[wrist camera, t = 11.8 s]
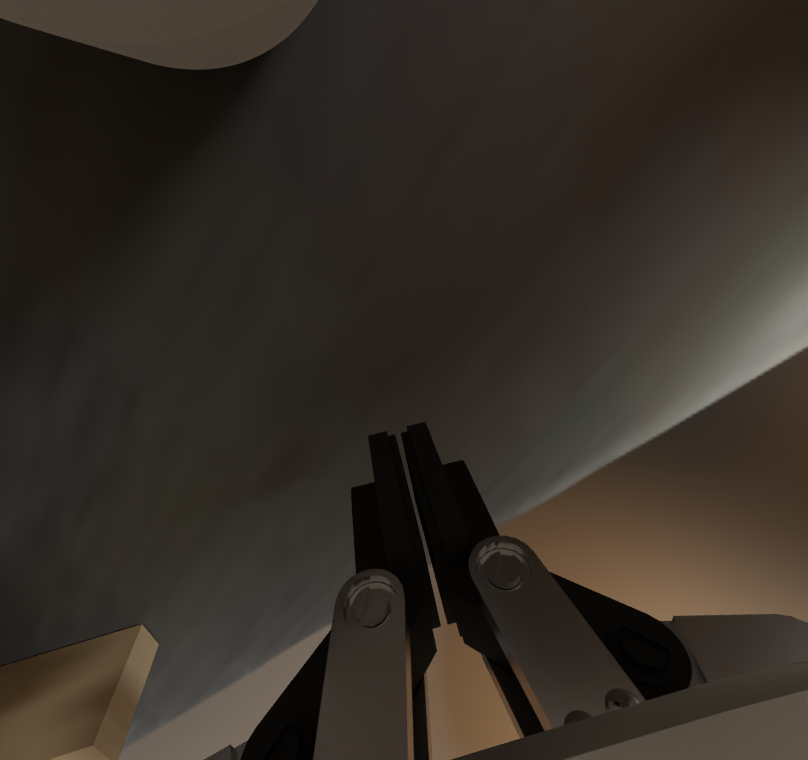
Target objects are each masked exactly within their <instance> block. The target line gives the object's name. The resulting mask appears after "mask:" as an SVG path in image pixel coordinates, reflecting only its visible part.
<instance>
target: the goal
mask: <svg viewBox="0 0 808 760" xmlns="http://www.w3.org/2000/svg"><path fill="white" fill-rule="evenodd" d="M158 645H159V644H158V643H157V641H156V640H155V639H154V638H153V637H152V635H151V634H150V633H149V632H148V631H147V629H146V628H145V627H144V626H143V625H142V624H141V625H138V626H135V627H131V628H128V629H125V630H121V631H118V632H115V633H111V634H108V635H105V636H101V637H98V638H94V639H91V640H88V641H84V642H81V643H78V644H74V645H71V646H68V647H64V648H61V649H58V650H54V651H51V652H48V653H44V654H41V655H38V656H34V657H31V658H28V659H24V660H21V661H18V662H14V663H11V664H8V665H4V666H1V667H0V760H118V759H119V756H120V753H121V750H122V747H123V745H124V742H125V739H126V736H127V733H128V730H129V728H130V725H131V722H132V719H133V716H134V713H135V711H136V708H137V705H138V702H139V699H140V696H141V694H142V691H143V688H144V685H145V682H146V679H147V677H148V674H149V671H150V668H151V665H152V662H153V660H154V657H155V654H156V651H157V648H158Z"/></svg>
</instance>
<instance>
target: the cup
mask: <svg viewBox="0 0 808 760" xmlns="http://www.w3.org/2000/svg"><path fill="white" fill-rule="evenodd" d="M317 1H318V0H0V18H2V19H4V20H7V21H10V22H14V23H17V24H20V25H23V26H26V27H29V28H33V29H36V30H40V31H43V32H46V33H50V34H53V35H56V36H60V37H63V38H67V39H70V40H73V41H77V42H80V43H83V44H87V45H90V46H94V47H97V48H100V49H104V50H107V51H111V52H114V53H117V54H121V55H124V56H127V57H131V58H134V59H138V60H141V61H144V62H148V63H152V64H156V65H160V66H165V67H171V68H178V69H191V70H203V69H215V68H222V67H228V66H232V65H236V64H239V63H242V62H245V61H248V60H250V59H253V58H255V57H257V56H259V55H261V54H263V53H265V52H267V51H269V50H270V49H272V48H273V47H275V46H276V45H278V44H279V43H280V42H282V41H283V40H284V39H285V38H287V37H288V36H289V35H290V34H291V33H292V32H293V31H294V30H295V29H296V28H297V27H298V26H299V25H300V24H301V23H302V22H303V20H304V19H305V18H306V17H307V16H308V14H309V13H310V12H311V10H312V9H313V7H314V6H315V4H316V3H317Z"/></svg>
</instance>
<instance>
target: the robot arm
mask: <svg viewBox="0 0 808 760" xmlns="http://www.w3.org/2000/svg"><path fill="white" fill-rule="evenodd" d="M401 437H402V441H403V446H404V450H405V455H406V460H407V464H408V469H409V473H410V478H411V483H412V487H413V492H414V496H415V501H416V505H417V509H418V513H419V517H420V521H421V525H422V528H423V532H424V536H425V540H426V543H427V547H428V551H429V555H430V559H431V562H432V566H433V570H434V573H435V578H436V581H437V585H438V589H439V593H440V596H441V600H442V604H443V608H444V612H445V615H446V619H447V623H448V624H451V623H455V622H456V623H457V627H458V631H459V634H460V636H462V637H463V640H464V643H465V644H467V645H468V646H470V647H472V648H473V649H475V650H476V651H478V652H479V653H481V654H482V658H483V661H484V663H485V665H486V667H487V669H488V671H489V674H490V676H491V678H492V680H493V682H494V684H495V686H496V689H497V691H498V693H499V694H500V697H501V699H502V701H503V704H504V706H505V708H506V710H507V712H508V714H509V716H510V719H511V721H512V723H513V725H514V727H515V729H516V731H517V733H518V736H519V738H520V739H518V740H514V741H511V742H508V743H504V744H501V745H498V746H494V747H491V748H488V749H485V750H481V751H478V752H475V753H471V754H468V755H465V756H462V757H459V758H455V759H452V760H808V623H807V622H804V621H802V620H799V619H797V618H794V617H792V616H786V615H779V614H745V615H699V616H673V619H672V621H659V620H657V619H655V618H653V617H652V616H650V615H648V614H646V613H643V612H641V611H638V610H636V609H634V608H632V607H629V606H627V605H625V604H623V603H620V602H618V601H615V600H613V599H611V598H609V597H606V596H604V595H602V594H600V593H597V592H595V591H592V590H590V589H588V588H586V587H583V586H581V585H578V584H576V583H574V582H572V581H569V580H567V579H565V578H562V577H560V576H558V575H555V574H553V573H551V572H549V571H548V570H547V568H546V567H545V566H544V565H543V563H542V562H541V561H540V559H539V558H538V557H537V555H536V554H535V553H534V551H532V549H531V548H530V547H529V546H528V545H526V544H525V543H524V542H522V541H520V540H518V539H516V538H512V537H509V536H500V535H499V533H498V531H497V529H496V527H495V525H494V523H493V521H492V518H491V516H490V514H489V512H488V510H487V508H486V506H485V504H484V502H483V500H482V498H481V495H480V493H479V491H478V489H477V487H476V485H475V483H474V481H473V479H472V477H471V475H470V472H469V470H468V468H467V466H466V464H465V462H464V461H463V460H460V461H456V462H452V463H448V464H444V465H442V463H441V461H440V458H439V456H438V453H437V451H436V448H435V445H434V443H433V440H432V438H431V435H430V433H429V430H428V428H427V425H426V423H425V422H423V423H419V424H414V425H410V426H407V432H403V433H401ZM368 439H369V445H370V452H371V459H372V466H373V473H374V480H375V482H373V483H369V484H365V485H361V486H357V487H353V488H351V499H352V515H353V531H354V547H355V563H356V575H354V576H353V577H351V578H350V579H349V580H348V581H347V582H346V583H345V584H344V585H343V587H342V589H341V590H340V592H339V594H338V596H337V599H336V603H335V607H334V614H333V621H332V628H331V630H330V631H329V633H328V634H327V636H326V637H325V638H324V639H323V641H322V642H321V643H320V645H319V646H318V647H317V648H316V650H315V651H314V652H313V654H312V655H311V656H310V658H309V659H308V660H307V662H306V663H305V664H304V666H303V667H302V668H301V670H300V671H299V672H298V673H297V675H296V676H295V677H294V679H293V680H292V681H291V682H290V684H289V685H288V686H287V688H286V689H285V690H284V692H283V693H282V694H281V696H280V697H279V698H278V699H277V701H276V702H275V703H274V705H273V706H272V707H271V709H270V710H269V711H268V713H267V714H266V715H265V717H264V718H263V719H262V720H261V722H260V723H259V724H258V726H257V727H256V729H255V730H254V732H253V733H252V735H251V737H250V738H249V740H248V741H246V742H244V743H243V744H241V745H239V746H237V747H236V748H233V747H232V746H231V745H229V746H227V747H225V748H224V749H222V750H220V751H218V752H217V753H215V754H213V755H211V756H210V757H208V758H206V759H204V760H432V744H431V729H430V713H429V696H428V681H427V673H426V670H427V668H428V666H429V665H430V663H431V661H432V659H433V657H434V655H435V653H436V652H437V649H436V645H435V644H436V643H435V639H434V635H433V630H432V629H434V628H437V627H440V626H441V625H440V620H439V615H438V611H437V607H436V602H435V598H434V593H433V589H432V584H431V580H430V575H429V571H428V566H427V561H426V557H425V552H424V548H423V544H422V540H421V536H420V532H419V528H418V524H417V520H416V516H415V512H414V508H413V504H412V500H411V496H410V492H409V488H408V484H407V480H406V476H405V472H404V468H403V464H402V460H401V456H400V452H399V448H398V444H397V441H396V437H395V435H390V436H388V435H387V431H386V432H381V433H377V434H373V435H369V436H368Z"/></svg>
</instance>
